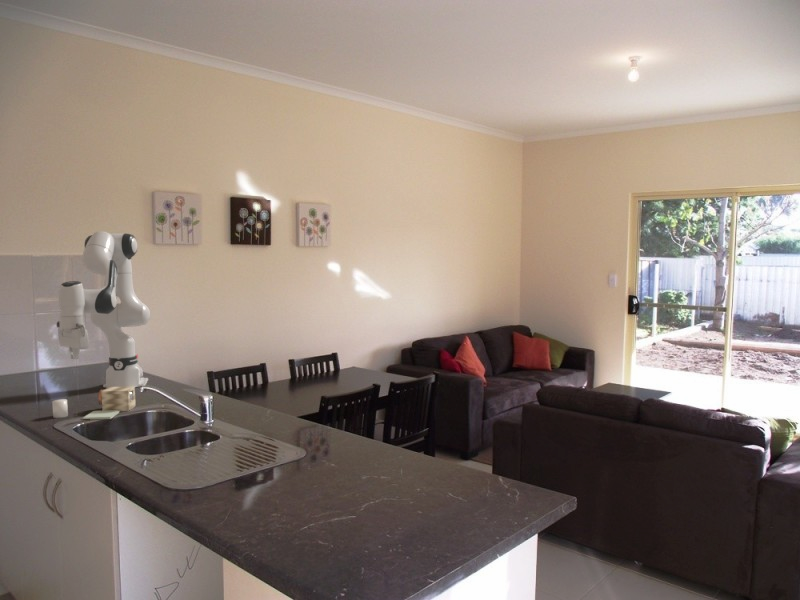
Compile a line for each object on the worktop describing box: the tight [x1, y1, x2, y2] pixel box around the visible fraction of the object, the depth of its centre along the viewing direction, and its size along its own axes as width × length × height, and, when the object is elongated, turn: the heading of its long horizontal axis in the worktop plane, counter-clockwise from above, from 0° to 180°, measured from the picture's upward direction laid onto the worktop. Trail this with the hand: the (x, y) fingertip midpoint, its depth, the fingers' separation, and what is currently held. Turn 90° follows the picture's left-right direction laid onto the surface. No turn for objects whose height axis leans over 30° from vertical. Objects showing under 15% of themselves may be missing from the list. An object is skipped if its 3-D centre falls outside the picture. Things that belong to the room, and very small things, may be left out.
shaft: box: [97, 389, 133, 406], centre depth 248 cm, size 12×6×6 cm, turn 95°
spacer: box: [51, 398, 69, 419], centre depth 239 cm, size 5×5×6 cm
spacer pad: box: [82, 410, 121, 421], centre depth 239 cm, size 10×10×1 cm
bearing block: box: [101, 386, 136, 412], centre depth 249 cm, size 10×8×8 cm
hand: (74, 358), depth 242 cm, fingers closed
